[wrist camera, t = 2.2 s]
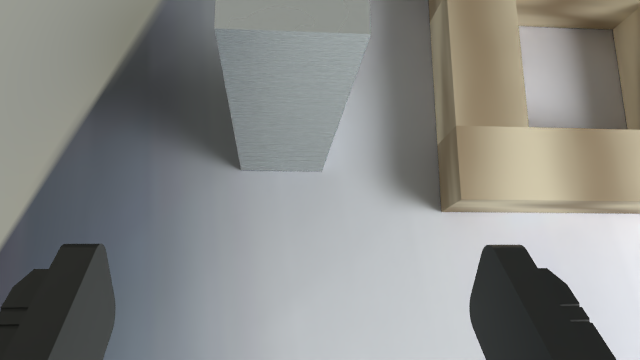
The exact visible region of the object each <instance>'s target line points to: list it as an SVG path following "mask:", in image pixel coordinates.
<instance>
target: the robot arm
mask: <svg viewBox="0 0 640 360" xmlns="http://www.w3.org/2000/svg"><path fill="white" fill-rule="evenodd" d="M470 318H471V323H472V326H473V329H474V331H475V334H476V336H477V339H478V341H479V344H480V346H481V349H482V351H483V353H484V356H485V358H486V360H616V358H615V357H614V355H613V354H612V352H611V351H610V349H609V348H608V346H607V345H606V343H605V342H604V340H603V339H602V337H601V335H600V334H599V332H598V331H597V329H596V328H595V326H594V325H593V323H590V322H589V317H588V316H587V314H586V313H585V311H584V310H583V308H582V307H579V302H578V301H577V299H576V298H575V296H574V295H573V293H572V291H571V290H570V288H569V287H568V285H567V284H566V283H564V282H563V281H562V280H561V279H559V278H558V277H557V276H556V275H555V274H553V273H552V272H551V271H550V270H548V269H547V268H537V266H536V265H535V263H534V261H533V260H532V258H531V257H530V255H529V253H528V252H527V250H526V249H525V247H523V246H522V245H486V246H485V247H484V249H483V251H482V254H481V258H480V262H479V266H478V269H477V273H476V277H475V281H474V285H473V289H472V293H471V297H470ZM114 320H115V297H114V292H113V286H112V281H111V275H110V270H109V264H108V259H107V253H106V249H105V247H104V245H103V244H63V245H62V246H61V247H60V249H59V251H58V253H57V255H56V256H55V258H54V260H53V262H52V264H51V266H50V268H49V269H34V270H33V271H32V272H30V273H29V274H28V275H27V276H26V277H24V278H23V279H22V280H21V281H20V282H18V283H17V284H16V285H15V286H14V287H13V288H12V290H11V291H10V293H9V295H8V297H7V298H6V300H5V302H4V303H3V305H2V307H1V312H0V360H103V357H104V354H105V351H106V348H107V345H108V342H109V339H110V336H111V333H112V330H113V326H114Z"/></svg>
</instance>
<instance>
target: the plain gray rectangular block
mask: <svg viewBox="0 0 640 360" xmlns="http://www.w3.org/2000/svg"><path fill="white" fill-rule="evenodd" d="M214 29H215V34H216V39H217V45H218V50H219V55H220V61H221V66H222V71H223V76H224V82H225V87H226V92H227V98H228V103H229V108H230V114H231V119H232V124H233V129H234V135H235V140H236V145H237V151H238V156H239V161H240V167H241V170H247V171H315V172H322V170H323V167H324V164H325V161H326V158H327V156H328V153H329V150H330V147H331V144H332V142H333V139H334V136H335V133H336V131H337V128H338V125H339V122H340V119H341V117H342V114H343V111H344V108H345V105H346V103H347V100H348V97H349V94H350V91H351V89H352V86H353V83H354V80H355V77H356V75H357V72H358V69H359V66H360V64H361V61H362V58H363V55H364V52H365V50H366V47H367V44H368V41H369V38H370V36H371V18H370V0H216V2H215V27H214Z"/></svg>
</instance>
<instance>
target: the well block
mask: <svg viewBox="0 0 640 360" xmlns="http://www.w3.org/2000/svg"><path fill="white" fill-rule="evenodd" d="M429 17H430V33H431V49H432V66H433V82H434V98H435V115H436V131H437V147H438V164H439V180H440V196H441V212H521V213H638V214H640V0H429ZM518 26H532V27H558V28H584V29H610V30H613V35H614V42H615V49H616V55H617V62H618V69H619V76H620V83H621V89H622V96H623V103H624V110H625V116H626V123H627V129H585V128H540V127H529V125H528V115H527V105H526V95H525V86H524V76H523V66H522V57H521V47H520V37H519V28H518Z"/></svg>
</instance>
